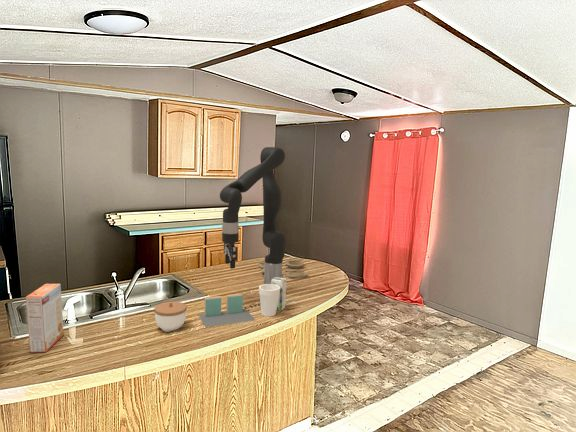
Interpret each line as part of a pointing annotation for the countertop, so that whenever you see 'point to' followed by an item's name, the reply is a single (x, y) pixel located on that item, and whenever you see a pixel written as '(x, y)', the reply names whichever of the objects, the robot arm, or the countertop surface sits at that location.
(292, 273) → the tableware set
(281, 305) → the syrup box
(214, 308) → the tile
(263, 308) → the foam cup
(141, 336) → the countertop surface
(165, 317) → the lidded bowl
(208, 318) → the mat
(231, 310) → the tile
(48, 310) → the cracker box
